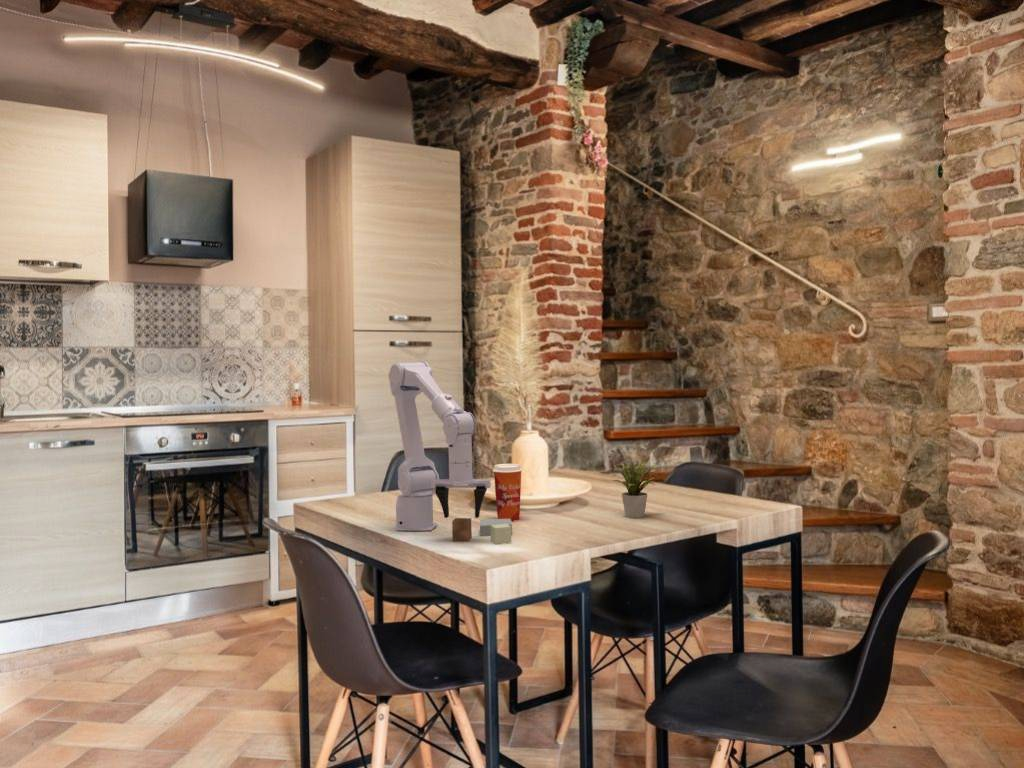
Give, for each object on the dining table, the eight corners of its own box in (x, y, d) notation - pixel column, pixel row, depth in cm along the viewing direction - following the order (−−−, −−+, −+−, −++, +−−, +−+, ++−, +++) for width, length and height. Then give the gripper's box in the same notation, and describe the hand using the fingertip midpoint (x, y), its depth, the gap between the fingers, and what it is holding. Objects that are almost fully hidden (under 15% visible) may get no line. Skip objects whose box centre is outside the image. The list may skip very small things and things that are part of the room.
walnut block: (452, 541, 201) (452, 521, 201) (455, 538, 205) (455, 518, 205) (468, 541, 201) (468, 521, 201) (471, 538, 205) (471, 518, 205)
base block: (480, 537, 207) (479, 525, 207) (480, 530, 215) (480, 519, 215) (512, 536, 207) (511, 524, 207) (510, 530, 215) (510, 518, 215)
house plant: (660, 522, 218) (659, 461, 218) (608, 521, 222) (607, 461, 221) (663, 512, 232) (662, 455, 232) (614, 511, 235) (613, 454, 235)
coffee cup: (498, 523, 223) (497, 467, 222) (490, 517, 230) (489, 464, 230) (527, 520, 225) (526, 466, 224) (519, 515, 233) (517, 462, 232)
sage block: (495, 544, 197) (495, 528, 197) (490, 541, 201) (490, 525, 201) (511, 543, 198) (511, 526, 198) (506, 539, 202) (506, 523, 202)
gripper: (427, 464, 199) (429, 520, 200) (486, 463, 197) (488, 520, 198) (434, 460, 206) (435, 514, 207) (491, 460, 204) (492, 514, 205)
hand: (461, 517), depth 203 cm, fingers open, 7 cm apart
